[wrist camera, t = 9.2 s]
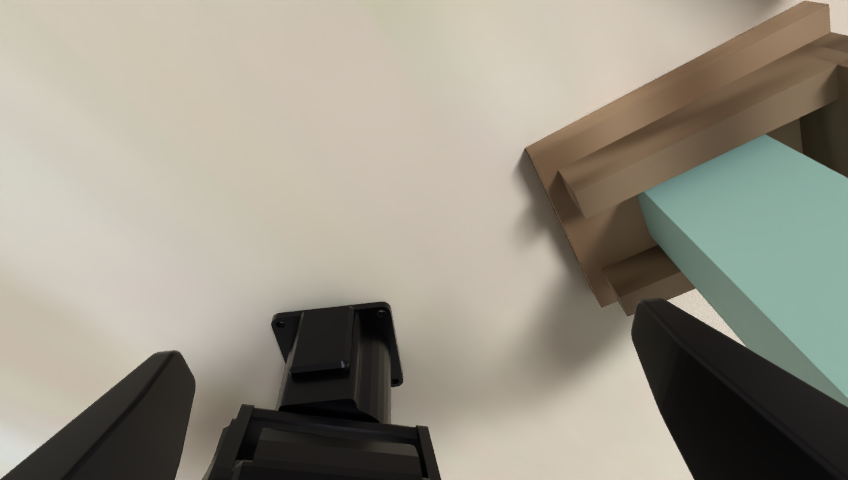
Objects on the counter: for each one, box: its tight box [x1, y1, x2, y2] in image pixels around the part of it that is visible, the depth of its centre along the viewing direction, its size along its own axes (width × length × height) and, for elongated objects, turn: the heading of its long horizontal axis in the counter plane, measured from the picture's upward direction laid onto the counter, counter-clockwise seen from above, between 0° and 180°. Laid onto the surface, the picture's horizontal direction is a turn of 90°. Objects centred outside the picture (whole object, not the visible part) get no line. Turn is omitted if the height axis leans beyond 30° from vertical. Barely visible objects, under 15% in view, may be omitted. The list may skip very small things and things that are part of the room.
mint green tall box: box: [637, 134, 848, 407], centre depth 16 cm, size 6×4×12 cm, turn 119°
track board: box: [525, 1, 848, 316], centre depth 20 cm, size 12×10×4 cm
